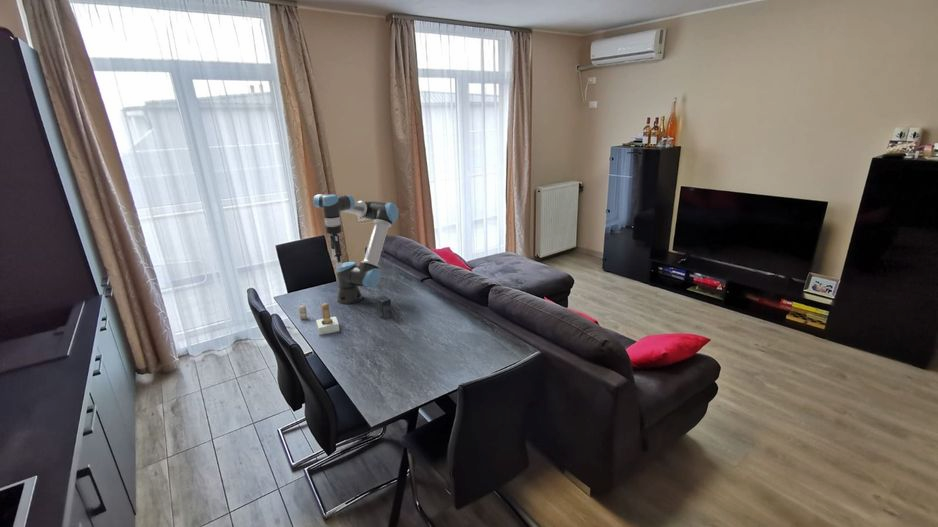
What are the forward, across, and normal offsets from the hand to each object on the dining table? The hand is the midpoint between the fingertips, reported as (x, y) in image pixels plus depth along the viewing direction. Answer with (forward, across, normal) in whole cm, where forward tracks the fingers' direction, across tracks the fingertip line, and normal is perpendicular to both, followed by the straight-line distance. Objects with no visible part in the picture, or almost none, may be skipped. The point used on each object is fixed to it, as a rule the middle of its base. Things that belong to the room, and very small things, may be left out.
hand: (337, 264), depth 218 cm
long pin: (+32, +10, -10) cm, 35 cm away
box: (+32, +7, +21) cm, 39 cm away
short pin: (+32, -9, -20) cm, 39 cm away
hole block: (+32, +10, -10) cm, 35 cm away
